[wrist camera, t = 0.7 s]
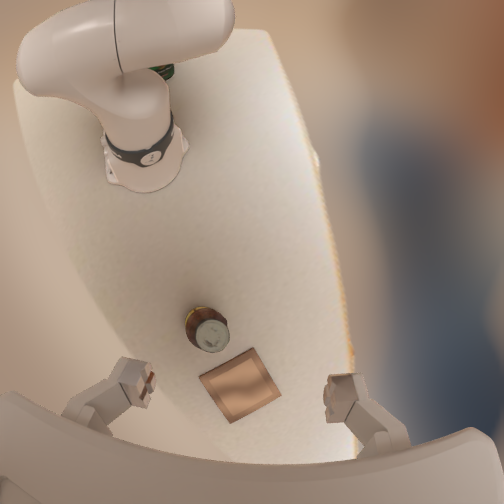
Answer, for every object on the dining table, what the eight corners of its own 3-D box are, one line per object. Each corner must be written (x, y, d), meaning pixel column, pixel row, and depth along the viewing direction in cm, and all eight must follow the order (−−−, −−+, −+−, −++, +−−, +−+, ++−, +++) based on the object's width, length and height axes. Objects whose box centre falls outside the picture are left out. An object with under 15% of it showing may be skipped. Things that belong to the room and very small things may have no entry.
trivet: (198, 376, 47) (199, 378, 46) (253, 347, 50) (254, 348, 49) (229, 422, 46) (230, 424, 46) (280, 394, 50) (281, 395, 49)
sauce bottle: (195, 344, 48) (197, 374, 29) (179, 315, 48) (171, 328, 29) (225, 328, 50) (246, 348, 30) (210, 299, 50) (221, 302, 31)
